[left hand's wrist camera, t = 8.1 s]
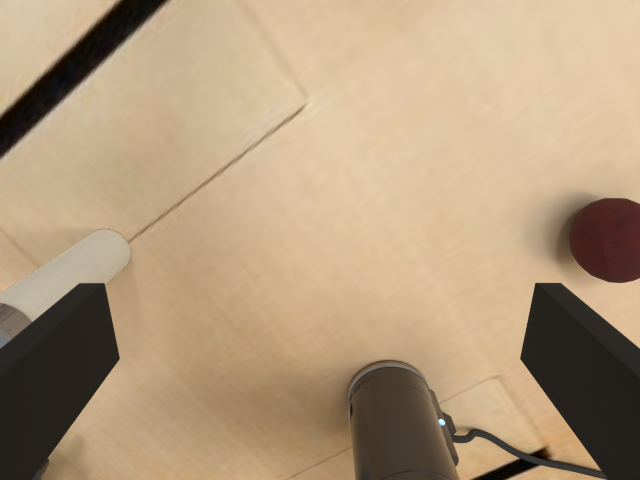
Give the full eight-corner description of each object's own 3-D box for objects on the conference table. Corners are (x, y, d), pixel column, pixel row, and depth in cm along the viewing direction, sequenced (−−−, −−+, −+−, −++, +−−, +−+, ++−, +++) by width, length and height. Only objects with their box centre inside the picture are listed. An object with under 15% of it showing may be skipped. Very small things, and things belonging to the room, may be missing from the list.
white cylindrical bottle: (76, 242, 42) (-71, 339, 26) (111, 221, 41) (-20, 307, 25) (106, 277, 43) (-17, 389, 28) (140, 257, 43) (34, 360, 27)
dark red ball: (571, 274, 43) (617, 309, 36) (541, 215, 41) (584, 240, 34) (641, 237, 42) (702, 266, 35) (614, 173, 39) (674, 192, 33)
